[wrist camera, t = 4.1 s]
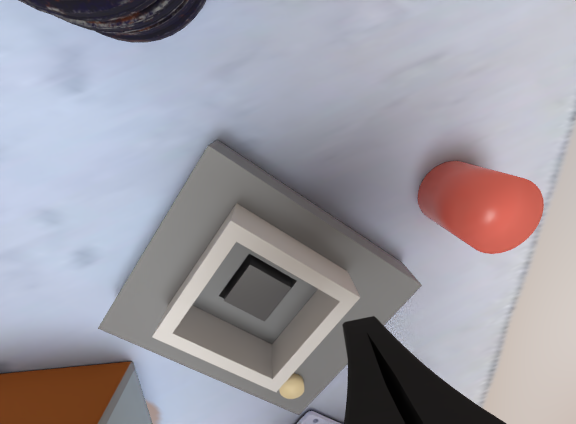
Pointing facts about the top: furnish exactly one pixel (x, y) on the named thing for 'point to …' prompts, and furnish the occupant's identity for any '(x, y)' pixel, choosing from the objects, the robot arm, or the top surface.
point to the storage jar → (124, 16)
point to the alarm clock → (74, 396)
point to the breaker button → (257, 288)
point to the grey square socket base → (225, 262)
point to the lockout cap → (481, 205)
